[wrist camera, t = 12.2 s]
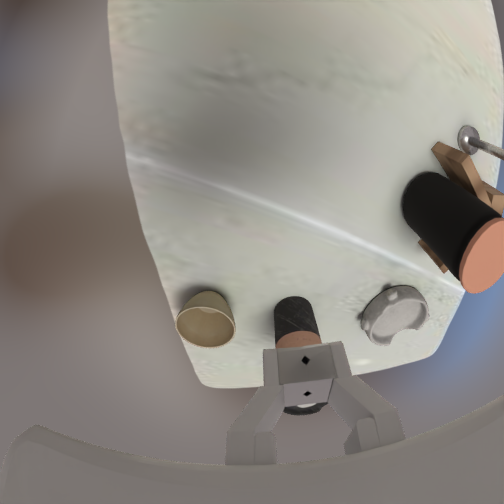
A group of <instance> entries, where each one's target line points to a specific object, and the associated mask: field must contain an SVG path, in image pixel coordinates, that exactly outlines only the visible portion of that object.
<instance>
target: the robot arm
mask: <svg viewBox="0 0 504 504" xmlns="http://www.w3.org/2000/svg"><path fill="white" fill-rule="evenodd" d="M263 374H264V386H260V387H259V389H258V390H257V392H256V393H255V394H254V396H253V397H252V399H251V400H250V401H249V403H248V404H247V405H246V407H245V408H244V410H243V411H242V413H241V414H240V415H239V417H238V418H237V419H236V420H235V422H234V423H233V425H232V426H231V427H230V428H229V430H228V431H227V438H226V456H225V465H210V464H196V463H185V462H177V461H168V460H161V459H155V458H149V457H143V456H139V455H134V454H129V453H124V452H120V451H116V450H112V449H108V448H104V447H101V446H97V445H93V444H90V443H87V442H84V441H81V440H78V439H75V438H72V437H69V436H66V435H63V434H61V433H58V432H55V431H53V430H50V429H48V428H46V427H43V426H40V425H34V426H32V427H30V428H28V429H27V430H26V431H24V432H23V433H21V434H20V435H19V436H17V437H16V438H15V439H14V440H13V441H12V443H11V445H10V446H9V448H8V450H7V453H6V456H5V458H4V461H3V464H2V467H1V470H0V504H504V395H502V396H500V397H499V398H497V399H495V400H493V401H492V402H490V403H488V404H486V405H485V406H483V407H481V408H479V409H477V410H475V411H473V412H471V413H469V414H467V415H465V416H463V417H461V418H459V419H457V420H454V421H452V422H450V423H448V424H445V425H443V426H440V427H438V428H436V429H433V430H431V431H428V432H425V433H423V434H420V435H417V436H414V437H411V438H408V439H406V438H405V434H404V431H403V427H402V424H401V420H400V417H399V414H398V410H397V409H396V408H395V407H394V406H392V405H391V404H390V403H389V402H387V401H386V400H385V399H384V398H383V397H381V396H380V395H379V394H378V393H377V392H375V391H374V390H373V389H372V388H371V387H369V386H368V385H367V384H366V383H365V382H363V381H362V380H361V379H360V378H359V377H357V376H356V375H353V376H352V373H351V370H350V366H349V363H348V359H347V356H346V352H345V349H344V345H343V343H342V342H341V341H338V342H331V343H322V344H314V345H307V346H303V347H290V348H275V349H263ZM322 402H328V404H329V405H330V406H331V407H332V408H333V409H334V411H336V413H337V414H338V415H339V416H340V417H341V418H342V419H343V421H345V423H346V424H347V425H348V426H349V427H350V428H351V429H352V432H351V433H350V435H349V436H348V438H347V440H346V441H345V443H344V449H345V455H344V456H338V457H333V458H327V459H321V460H313V461H306V462H297V463H286V464H278V461H277V448H276V437H275V434H274V433H272V432H271V431H272V429H273V427H274V426H275V424H276V422H277V421H278V419H279V417H280V415H281V414H282V412H283V410H284V408H285V407H289V406H297V405H304V404H313V403H322Z"/></svg>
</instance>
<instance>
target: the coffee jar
mask: <svg viewBox="0 0 504 504" xmlns="http://www.w3.org/2000/svg"><path fill="white" fill-rule="evenodd" d="M403 210H404V217H405V219H406V221H407V223H408V225H409V226H410V227H411V228H412V229H413V230H414V231H415V232H416V233H417V234H418V236H419V237H420V238H421V239H422V240H423V241H424V242H425V243H426V244H427V245H428V246H429V247H430V249H431V250H432V251H433V252H434V253H435V254H436V255H437V257H438V258H439V259H440V260H441V261H442V262H443V263H444V265H445V266H446V267H447V268H448V269H449V271H450V272H451V273H452V274H453V275H454V276H455V277H456V278H457V279H458V280H459V281H460V282H461V285H462V286H463V288H464V289H465V290H466V291H467V292H469V293H479V292H482V291H484V290H486V289H488V288H489V287H491V286H492V285H493V284H494V283H495V282H496V281H497V280H498V279H499V278H500V277H501V276H502V274H503V273H504V218H502V216H501V215H500V214H499V213H498V212H497V211H495V210H494V209H493V208H491V207H490V206H489V205H487V204H486V203H484V202H483V201H481V200H480V199H479V198H477V197H476V196H474V195H473V194H471V193H470V192H468V191H467V190H465V189H464V188H462V187H460V186H459V185H457V184H456V183H454V182H452V181H451V180H449V179H447V178H446V177H444V176H442V175H440V174H438V173H427V174H424V175H421V176H419V177H418V178H417V179H415V180H414V181H413V182H412V183H411V185H410V186H409V187H408V189H407V192H406V194H405V197H404V204H403Z"/></svg>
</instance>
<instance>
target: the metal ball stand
mask: <svg viewBox="0 0 504 504" xmlns="http://www.w3.org/2000/svg"><path fill="white" fill-rule="evenodd" d="M458 144H459V147H460V149H461V150H462V151H463V152H464V153H466V154H469V155H473V154H475V153H476V152H477V150H478V149H480V150H483V151H485V152H487V153H489V154H491V155H494V156H496V157H498V158H500V159H502V160H504V149H502V148H499V147H497V146H495V145H492V144H490V143H487V142H485V141H482V140H480V137H479V134H478V132H477V130H476V129H475V128H473V127H471V126H463V127H462V128H461V129H460V131H459V134H458Z"/></svg>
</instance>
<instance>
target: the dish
mask: <svg viewBox="0 0 504 504" xmlns="http://www.w3.org/2000/svg"><path fill="white" fill-rule="evenodd" d="M428 312H429V310H428V305H427V303H426V301H425V299H424V297H423V296H422V295H421V293H420V292H418V291H417V290H416V289H414V288H412V287H409V286H397V287H393V288H390V289H388V290H385V291H384V292H382V293H381V294H379V295H378V296H377V297H376V298H375V299H374V300H373V301H372V302H371V303H370V304H369V305H368V307H367V308H366V309H365V311H364V314H363V319H362V320H361V328H362V330H365V331H366V334H367V336H368V337H369V339H370V340H371V341H372V342H373V343H375V344H377V345H380V346H383V345H384V346H387V345H390V343H391V340H392V338H393V336H394V335H395V334H396V333H397V332H399V331H401V330H403V329H416V330H419V329H420V328H421V327H422V326H423V325H424V323H425V322H427V321H428V320H429V317H430V315H429V313H428Z"/></svg>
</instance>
